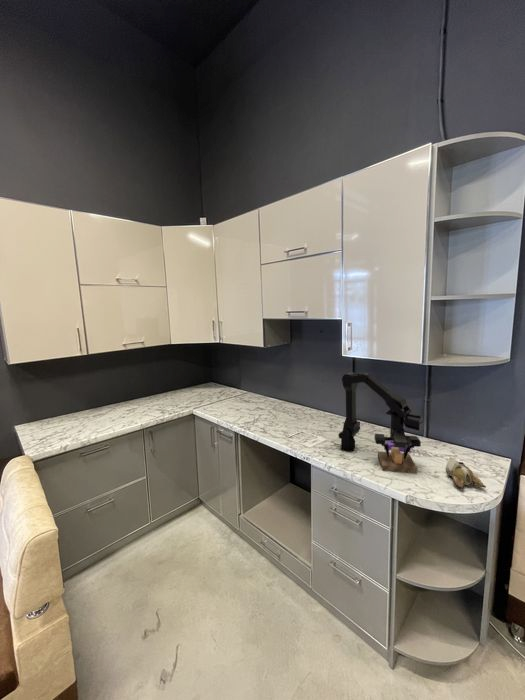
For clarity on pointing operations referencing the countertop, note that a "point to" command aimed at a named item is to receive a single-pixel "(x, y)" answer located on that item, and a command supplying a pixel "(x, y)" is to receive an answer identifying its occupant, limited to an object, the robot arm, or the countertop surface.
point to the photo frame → (310, 443)
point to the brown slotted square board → (389, 464)
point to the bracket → (391, 444)
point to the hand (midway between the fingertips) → (396, 457)
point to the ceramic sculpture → (462, 474)
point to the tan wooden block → (396, 455)
